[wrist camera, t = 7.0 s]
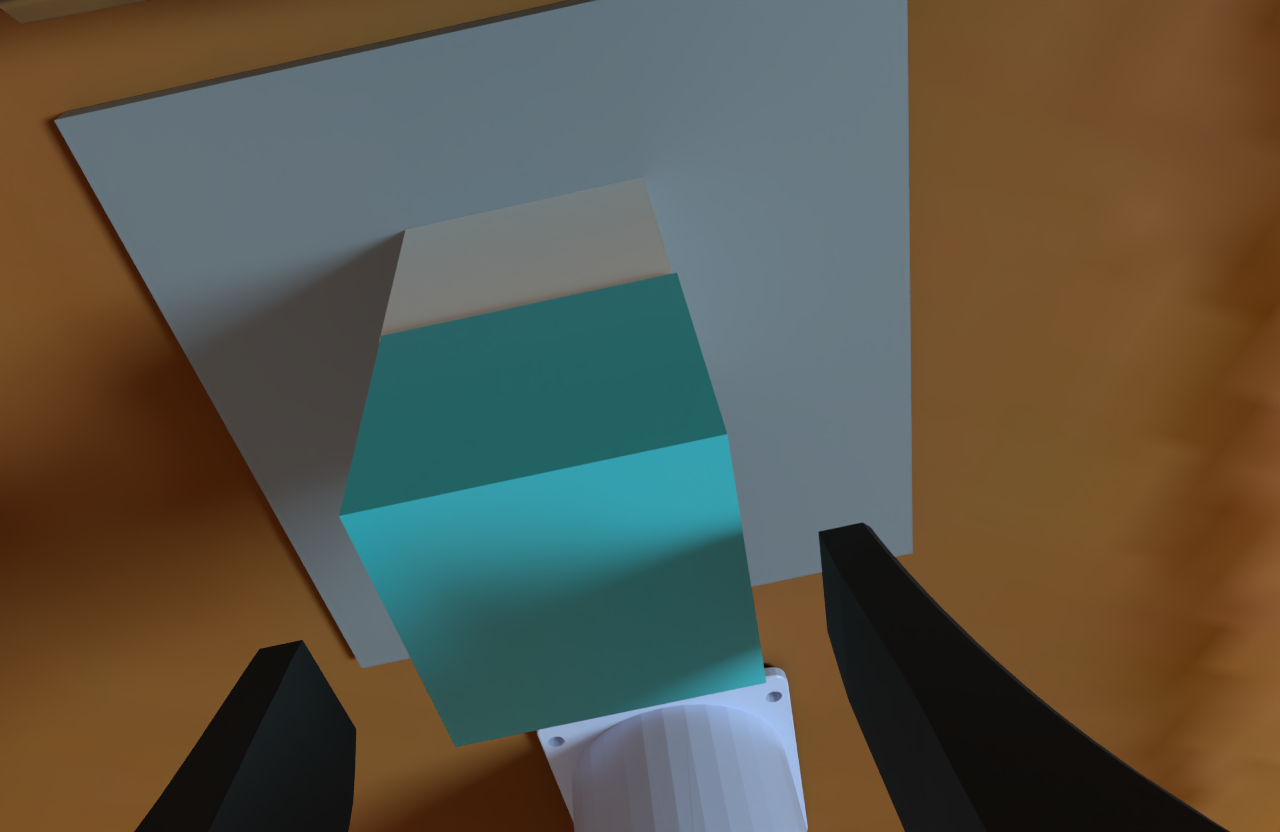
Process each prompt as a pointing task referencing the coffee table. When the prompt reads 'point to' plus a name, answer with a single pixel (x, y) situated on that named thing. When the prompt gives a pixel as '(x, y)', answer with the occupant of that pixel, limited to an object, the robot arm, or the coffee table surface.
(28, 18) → the diary
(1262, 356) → the coffee table surface
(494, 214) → the cream brick
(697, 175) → the grey baseplate
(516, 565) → the teal brick
